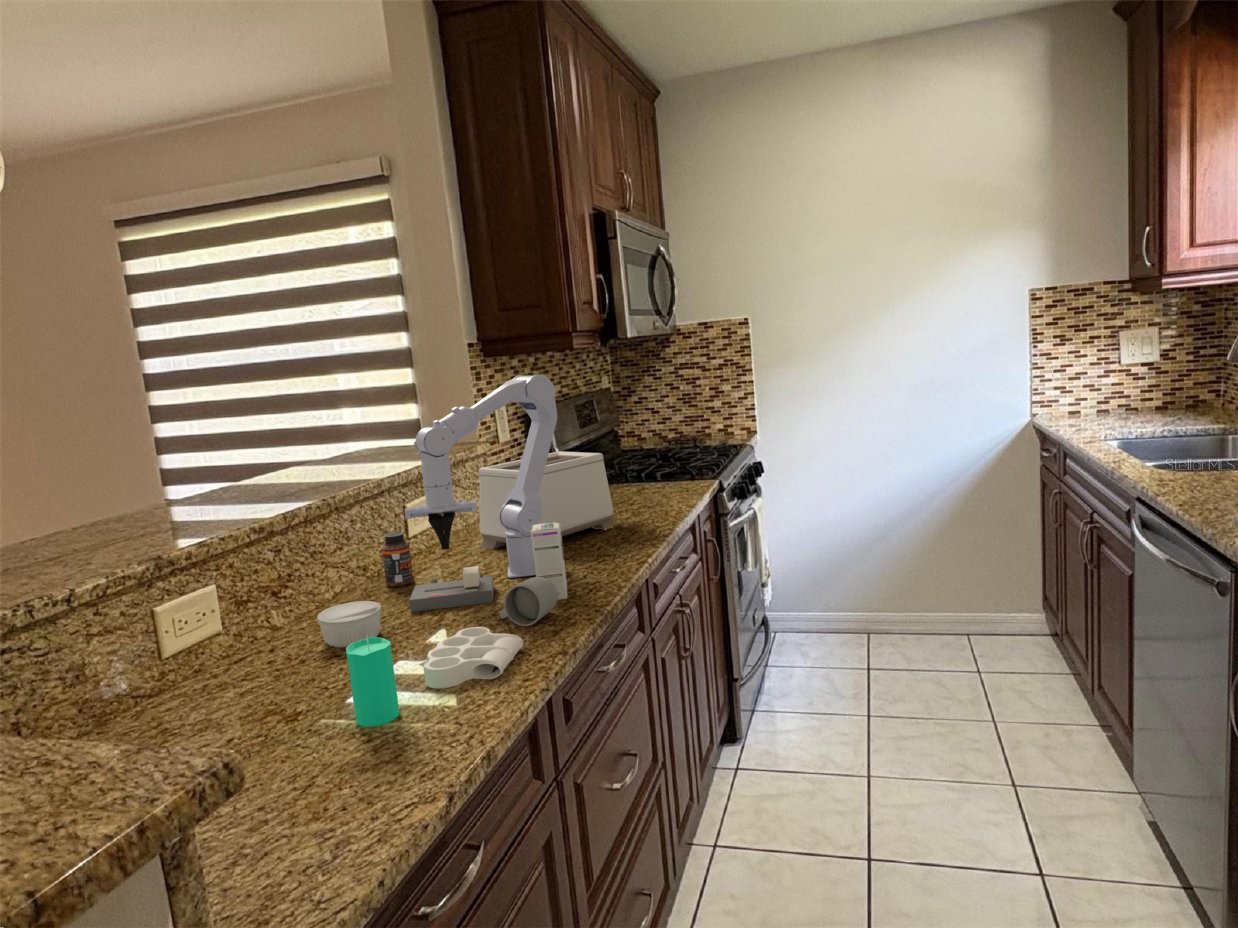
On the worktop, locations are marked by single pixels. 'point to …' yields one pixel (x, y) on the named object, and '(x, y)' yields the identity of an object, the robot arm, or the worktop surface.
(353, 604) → the ramekin
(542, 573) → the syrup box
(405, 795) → the worktop surface
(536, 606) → the ceramic mug
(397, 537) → the supplement bottle
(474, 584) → the breaker knob
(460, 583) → the panel
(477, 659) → the white multi-cup tray
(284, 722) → the worktop surface
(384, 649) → the candle
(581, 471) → the toaster
